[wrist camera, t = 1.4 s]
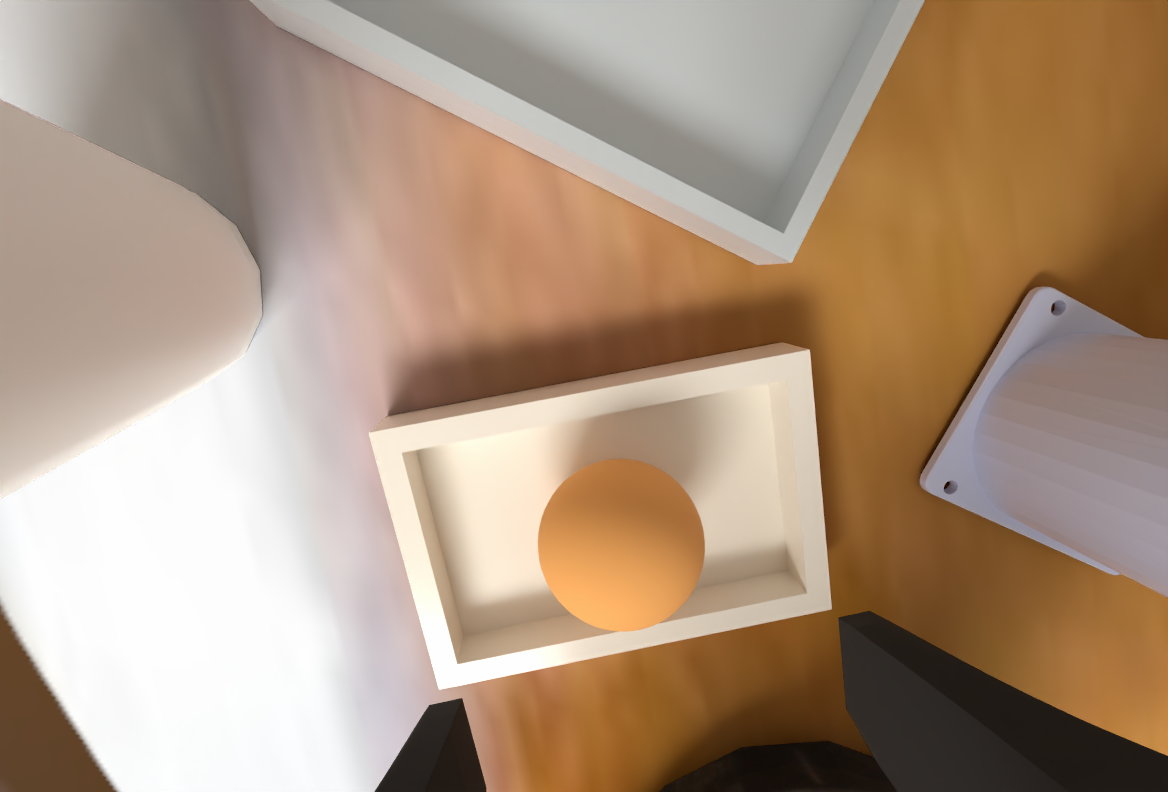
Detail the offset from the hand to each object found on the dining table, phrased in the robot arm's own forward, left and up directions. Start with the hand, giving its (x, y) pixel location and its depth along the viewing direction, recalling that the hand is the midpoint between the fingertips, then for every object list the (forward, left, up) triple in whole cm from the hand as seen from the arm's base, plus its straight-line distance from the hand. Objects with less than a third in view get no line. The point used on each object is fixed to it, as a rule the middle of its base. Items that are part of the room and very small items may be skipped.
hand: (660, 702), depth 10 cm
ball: (0, 0, -7) cm, 7 cm away
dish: (0, 0, -10) cm, 10 cm away
